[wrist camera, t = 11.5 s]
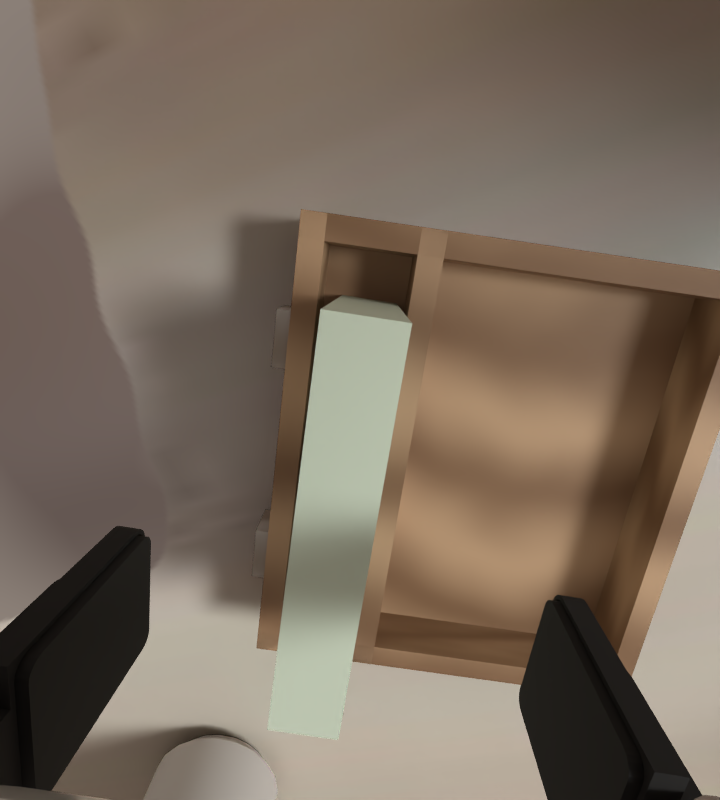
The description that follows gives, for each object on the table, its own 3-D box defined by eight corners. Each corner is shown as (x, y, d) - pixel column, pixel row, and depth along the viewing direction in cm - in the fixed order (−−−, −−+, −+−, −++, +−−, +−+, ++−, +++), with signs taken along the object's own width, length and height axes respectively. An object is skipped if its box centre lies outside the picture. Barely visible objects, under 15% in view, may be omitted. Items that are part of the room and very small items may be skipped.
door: (340, 294, 21) (317, 308, 12) (396, 303, 21) (412, 323, 12) (303, 568, 24) (264, 729, 16) (350, 575, 25) (338, 740, 16)
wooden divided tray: (299, 217, 21) (284, 206, 18) (709, 278, 21) (773, 278, 18) (260, 598, 26) (244, 646, 23) (591, 644, 26) (623, 698, 23)
